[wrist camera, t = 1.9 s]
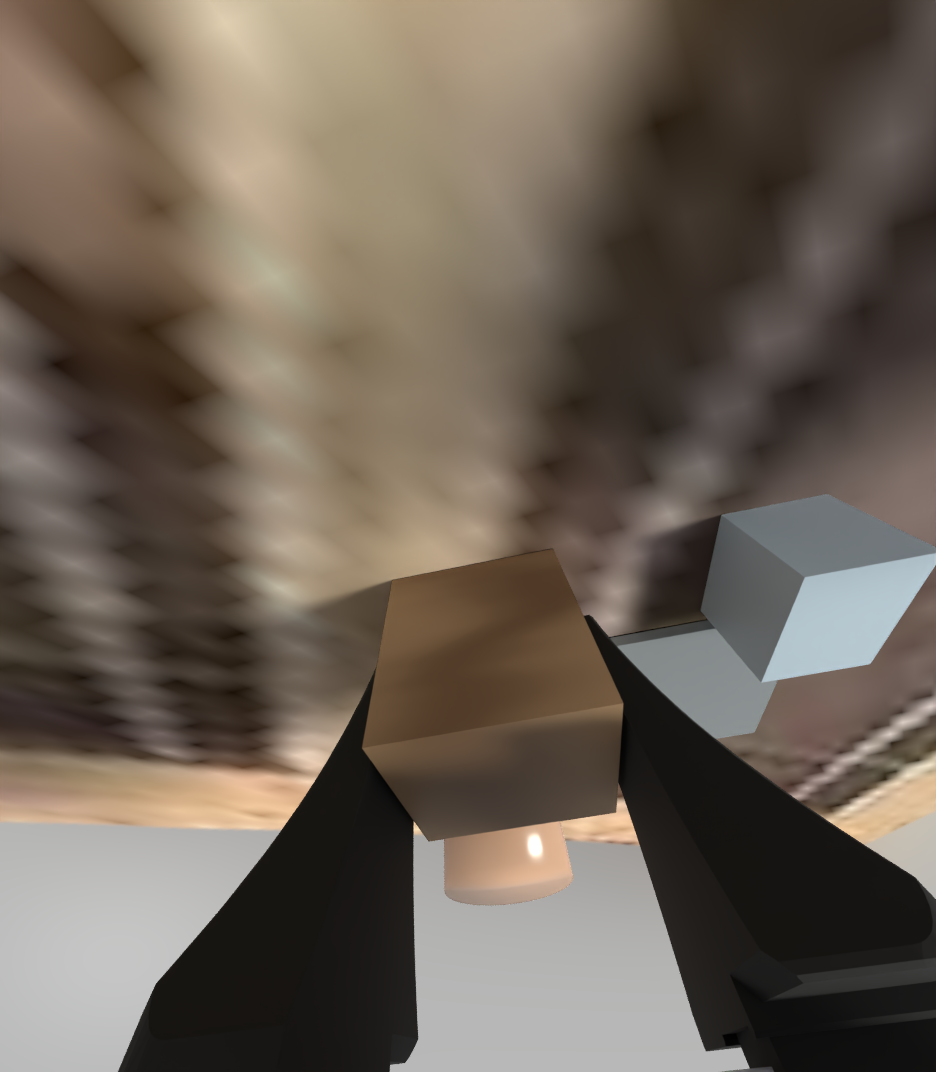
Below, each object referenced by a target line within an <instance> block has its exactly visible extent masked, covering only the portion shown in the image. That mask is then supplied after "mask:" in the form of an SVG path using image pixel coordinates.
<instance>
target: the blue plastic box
mask: <svg viewBox="0 0 936 1072" xmlns="http://www.w3.org/2000/svg"><path fill="white" fill-rule="evenodd" d="M935 565H936V547H934V546H932V545H930V544H928V543H926V542H924V541H922V540H920V539H918V538H916V537H914V536H912V535H910V534H908V533H906V532H904V531H902V530H900V529H897V528H895V527H893V526H891V525H889V524H887V523H885V522H883V521H881V520H879V519H877V518H875V517H873V516H871V515H869V514H867V513H865V512H863V511H861V510H859V509H857V508H855V507H853V506H851V505H849V504H846V503H844V502H842V501H840V500H838V499H836V498H834V497H832V496H830V495H828V494H824V495H819V496H814V497H809V498H804V499H799V500H794V501H789V502H784V503H779V504H774V505H769V506H764V507H759V508H753V509H748V510H743V511H738V512H733V513H728V514H723V515H721V519H720V524H719V528H718V533H717V538H716V542H715V547H714V551H713V556H712V560H711V565H710V570H709V574H708V579H707V583H706V588H705V592H704V597H703V601H702V606H701V612H702V613H703V614H704V616H705V617H706V618H707V619H708V620H709V622H710V623H711V624H712V625H713V626H714V627H715V629H716V630H717V631H718V632H719V633H720V635H721V636H722V637H723V638H724V639H725V640H726V642H727V643H728V644H729V645H730V646H731V648H732V649H733V650H734V651H735V652H736V653H737V655H738V656H739V657H740V658H741V659H742V661H743V662H744V663H745V664H746V665H747V666H748V668H749V669H750V670H751V671H752V672H753V674H754V675H755V676H756V677H757V678H758V679H759V681H760V682H761V683H762V682H768V681H774V680H780V679H786V678H791V677H797V676H803V675H809V674H815V673H821V672H827V671H832V670H838V669H844V668H850V667H856V666H862V665H867V664H870V663H871V662H872V660H873V659H874V657H875V656H876V654H877V653H878V651H879V650H880V648H881V647H882V645H883V644H884V642H885V641H886V639H887V638H888V636H889V635H890V633H891V632H892V630H893V629H894V627H895V626H896V624H897V623H898V621H899V619H900V618H901V616H902V615H903V613H904V612H905V610H906V609H907V607H908V606H909V604H910V603H911V601H912V600H913V598H914V597H915V595H916V594H917V592H918V591H919V589H920V588H921V586H922V585H923V583H924V582H925V580H926V579H927V577H928V576H929V574H930V573H931V571H932V570H933V568H934V566H935Z"/></svg>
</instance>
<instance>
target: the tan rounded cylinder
mask: <svg viewBox="0 0 936 1072" xmlns="http://www.w3.org/2000/svg"><path fill="white" fill-rule="evenodd" d="M444 869H445V870H444V880H445V881H444V882H445V883H444V885H445V886H444V889H445V890H444V891H445V894H446V896H447V897H449V898H450V899H452V900H454V901H457V902H460V903H465V904H473V905H506V904H515V903H522V902H527V901H532V900H536V899H540V898H544V897H547V896H550V895H552V894H555V893H557V892H559V891H561V890H563V889H565V888H566V887H567V886H568V885H570V883H571V882H572V881H573V873H572V869H571V864H570V860H569V856H568V851H567V847H566V843H565V838H564V834H563V830H562V826H561V821H558V822H551V823H545V824H538V825H532V826H525V827H519V828H513V829H506V830H500V831H493V832H487V833H480V834H474V835H467V836H461V837H454V838H448V839H444Z"/></svg>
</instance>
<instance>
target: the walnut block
mask: <svg viewBox="0 0 936 1072" xmlns="http://www.w3.org/2000/svg"><path fill="white" fill-rule="evenodd" d="M622 717H623V701H622V699H621V697H620V695H619V693H618V690H617V688H616V686H615V684H614V682H613V679H612V677H611V675H610V673H609V671H608V668H607V666H606V664H605V662H604V660H603V657H602V655H601V653H600V651H599V649H598V647H597V644H596V642H595V640H594V638H593V636H592V633H591V631H590V629H589V627H588V625H587V622H586V620H585V618H584V616H583V614H582V612H581V609H580V607H579V605H578V603H577V601H576V598H575V596H574V594H573V592H572V590H571V587H570V585H569V583H568V581H567V579H566V577H565V574H564V572H563V570H562V568H561V566H560V563H559V561H558V559H557V557H556V555H555V552H554V550H553V549H549V550H544V551H539V552H534V553H529V554H523V555H518V556H513V557H508V558H503V559H498V560H493V561H488V562H483V563H478V564H473V565H468V566H463V567H458V568H452V569H447V570H442V571H437V572H432V573H427V574H422V575H417V576H412V577H407V578H402V579H397V580H392V585H391V590H390V596H389V602H388V607H387V613H386V618H385V624H384V629H383V635H382V640H381V646H380V651H379V657H378V662H377V668H376V673H375V679H374V684H373V690H372V696H371V701H370V707H369V712H368V718H367V723H366V729H365V734H364V740H363V745H362V749H363V750H364V752H365V753H366V754H367V756H368V757H369V759H370V760H371V761H372V763H373V764H374V766H375V767H376V768H377V770H378V771H379V773H380V774H381V775H382V777H383V778H384V780H385V781H386V782H387V784H388V785H389V787H390V788H391V789H392V791H393V792H394V794H395V795H396V796H397V798H398V799H399V801H400V802H401V803H402V805H403V806H404V808H405V809H406V810H407V812H408V813H409V815H410V816H411V818H412V819H413V820H414V822H415V823H416V825H417V826H418V827H419V829H420V830H421V832H422V833H423V834H424V836H425V837H426V838H427V840H428V841H435V840H441V839H448V838H454V837H461V836H467V835H474V834H480V833H487V832H493V831H500V830H506V829H513V828H519V827H525V826H532V825H538V824H545V823H551V822H558V821H564V820H571V819H577V818H584V817H590V816H597V815H603V814H610V813H616V806H617V791H618V776H619V762H620V747H621V732H622Z"/></svg>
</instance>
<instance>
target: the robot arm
mask: <svg viewBox="0 0 936 1072" xmlns="http://www.w3.org/2000/svg"><path fill="white" fill-rule="evenodd" d="M584 618H585V620H586V622H587V625H588V627H589V629H590V631H591V633H592V636H593V638H594V640H595V642H596V644H597V647H598V649H599V651H600V653H601V655H602V657H603V660H604V662H605V664H606V666H607V668H608V671H609V673H610V675H611V677H612V679H613V682H614V684H615V686H616V688H617V690H618V693H619V695H620V697H621V699H622V701H623V717H622V732H621V747H620V762H619V776H618V783H619V785H620V788H621V790H622V793H623V796H624V799H625V802H626V805H627V808H628V811H629V814H630V817H631V820H632V823H633V826H634V829H635V832H636V835H637V838H638V841H639V844H640V847H641V850H642V853H643V856H644V859H645V862H646V865H647V868H648V871H649V875H650V878H651V881H652V884H653V887H654V890H655V893H656V897H657V900H658V903H659V906H660V909H661V912H662V915H663V919H664V922H665V925H666V928H667V931H668V935H669V938H670V941H671V944H672V948H673V951H674V954H675V958H676V961H677V964H678V967H679V971H680V974H681V977H682V980H683V984H684V987H685V990H686V994H687V997H688V1001H689V1003H690V1007H691V1011H692V1014H693V1017H694V1020H695V1022H696V1025H697V1028H698V1031H699V1034H700V1037H701V1039H702V1042H703V1045H704V1048H705V1050H706V1051H714V1050H723V1049H731V1048H739V1047H741V1048H742V1050H743V1053H744V1055H745V1057H746V1060H747V1063H748V1065H749V1067H750V1069H743V1070H733V1071H725V1072H936V899H935V898H934V897H933V896H932V895H931V894H930V893H929V892H928V891H927V890H926V889H925V888H924V887H923V886H922V884H921V883H920V882H919V881H918V880H917V879H916V878H915V877H914V876H912V875H911V874H909V873H908V872H906V871H904V870H903V869H901V868H900V867H898V866H897V865H895V864H893V863H892V862H890V861H888V860H887V859H885V858H884V857H882V856H881V855H879V854H878V853H876V852H874V851H873V850H871V849H870V848H868V847H867V846H865V845H864V844H862V843H861V842H859V841H857V840H856V839H854V838H853V837H851V836H850V835H848V834H847V833H845V832H844V831H842V830H841V829H839V828H838V827H836V826H835V825H833V824H832V823H830V822H829V821H827V820H826V819H824V818H823V817H821V816H820V815H818V814H817V813H815V812H814V811H813V810H811V809H810V808H808V807H807V806H805V805H804V804H802V803H801V802H799V801H798V800H796V799H795V798H794V797H792V796H791V795H789V794H788V793H787V792H785V791H784V790H783V789H781V788H780V787H779V786H777V785H776V784H774V783H773V782H772V781H770V780H769V779H768V778H766V777H765V776H763V775H762V774H761V773H759V772H758V771H757V770H755V769H754V768H753V767H751V766H750V765H748V764H747V763H746V762H744V761H743V760H742V759H740V758H739V757H738V756H737V755H735V754H734V753H733V752H731V751H730V750H729V749H728V748H726V747H725V746H724V745H723V744H721V743H720V742H719V741H718V740H716V739H715V738H714V737H713V736H711V735H710V734H709V733H708V732H707V731H705V730H704V729H703V728H702V727H701V726H699V725H698V724H697V723H696V722H695V721H693V720H692V719H691V718H690V717H689V716H688V715H687V714H685V713H684V712H683V711H682V710H681V709H680V708H679V707H678V706H676V705H675V704H674V703H673V702H672V701H671V700H670V699H669V698H668V697H667V696H666V695H665V694H663V693H662V692H661V691H660V690H659V689H658V688H657V687H656V686H655V685H654V684H653V683H652V682H651V681H650V680H649V679H648V678H647V677H646V676H645V675H644V674H643V673H642V672H641V671H640V670H639V669H638V668H637V667H636V666H635V665H634V664H633V663H632V662H631V661H630V660H629V659H628V658H627V657H626V656H625V654H624V653H623V652H622V651H621V650H620V649H619V648H618V647H617V646H616V645H615V643H614V642H613V641H612V640H611V639H610V638H609V637H608V635H607V634H606V633H605V632H604V631H603V630H602V628H601V627H600V626H599V625H598V623H597V622H596V621H595V620H594V618H593V617H592V616H590V615H586V616H584ZM376 668H377V667H376ZM375 673H376V669H375V671H374V673H373V676H372V678H371V680H370V682H369V684H368V686H367V688H366V690H365V692H364V694H363V696H362V698H361V700H360V702H359V704H358V706H357V708H356V710H355V712H354V714H353V716H352V718H351V720H350V722H349V724H348V725H347V727H346V729H345V731H344V733H343V735H342V736H341V738H340V740H339V742H338V743H337V745H336V747H335V749H334V750H333V752H332V754H331V755H330V757H329V759H328V761H327V762H326V764H325V766H324V767H323V769H322V771H321V772H320V774H319V775H318V777H317V779H316V780H315V782H314V783H313V785H312V786H311V788H310V789H309V791H308V793H307V794H306V796H305V797H304V799H303V800H302V802H301V803H300V805H299V806H298V808H297V809H296V810H295V812H294V813H293V815H292V816H291V817H290V819H289V820H288V822H287V823H286V825H285V826H284V827H283V829H282V830H281V832H280V833H279V835H278V836H277V837H276V839H275V840H274V841H273V843H272V844H271V845H270V847H269V848H268V849H267V851H266V852H265V854H264V855H263V856H262V857H261V859H260V860H259V861H258V863H257V864H256V865H255V866H254V868H253V869H252V870H251V871H250V873H249V874H248V875H247V877H246V878H245V879H244V880H243V882H242V883H241V884H240V885H239V887H238V888H237V889H236V890H235V892H234V893H233V894H232V895H231V897H230V898H229V899H228V901H227V902H226V903H225V904H224V906H223V907H222V908H221V909H220V910H219V911H218V913H217V914H216V915H215V916H214V917H213V919H212V920H211V921H210V922H209V923H208V924H207V926H206V927H205V928H204V929H203V930H202V931H201V933H200V934H199V935H198V936H197V937H196V938H195V940H194V941H193V942H192V943H191V944H190V945H189V946H188V948H187V949H186V950H185V951H184V952H183V953H182V955H181V956H180V957H179V958H178V959H177V960H176V962H175V963H174V964H173V965H172V966H171V967H170V968H169V970H168V971H167V972H166V973H165V974H164V975H163V976H162V978H161V979H160V980H159V981H158V982H157V983H156V985H155V987H154V989H153V991H152V994H151V996H150V998H149V1000H148V1002H147V1005H146V1007H145V1009H144V1011H143V1014H142V1016H141V1018H140V1021H139V1023H138V1026H137V1028H136V1030H135V1032H134V1035H133V1037H132V1040H131V1042H130V1045H129V1047H128V1049H127V1052H126V1054H125V1056H124V1059H123V1061H122V1064H121V1066H120V1068H119V1071H118V1072H389V1071H390V1065H391V1064H400V1063H405V1062H406V1061H407V1059H408V1058H409V1056H410V1055H411V1053H412V1051H413V1049H414V1047H415V1045H416V1043H417V1040H418V1026H417V1004H416V980H415V951H414V950H415V948H414V908H413V907H414V901H413V899H414V898H413V825H414V820H413V819H412V818H411V816H410V815H409V813H408V812H407V810H406V809H405V808H404V806H403V805H402V803H401V802H400V801H399V799H398V798H397V796H396V795H395V794H394V792H393V791H392V789H391V788H390V787H389V785H388V784H387V782H386V781H385V780H384V778H383V777H382V775H381V774H380V773H379V771H378V770H377V768H376V767H375V766H374V764H373V763H372V761H371V760H370V759H369V757H368V756H367V754H366V753H365V752H364V750H363V749H362V745H363V740H364V734H365V729H366V723H367V718H368V712H369V707H370V701H371V696H372V690H373V684H374V679H375Z"/></svg>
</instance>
